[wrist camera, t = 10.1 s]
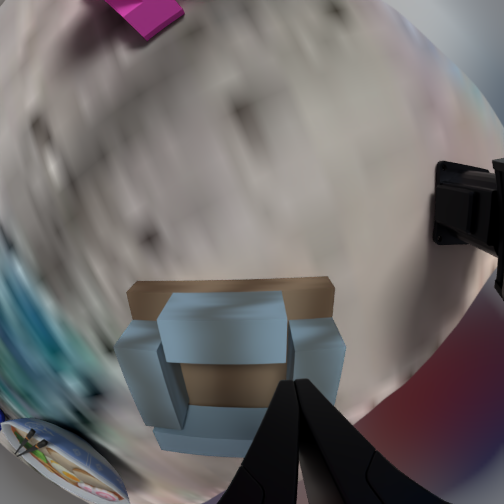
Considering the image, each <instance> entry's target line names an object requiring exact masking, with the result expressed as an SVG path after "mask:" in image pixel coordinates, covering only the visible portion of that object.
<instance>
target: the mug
mask: <svg viewBox="0 0 504 504" xmlns="http://www.w3.org/2000/svg"><path fill="white" fill-rule="evenodd" d="M2 422H5V416H4V414H3V412H2V411H1V409H0V423H2ZM1 429H2V428H1V424H0V431H1Z"/></svg>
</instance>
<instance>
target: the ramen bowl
mask: <svg viewBox="0 0 504 504" xmlns="http://www.w3.org/2000/svg"><path fill="white" fill-rule="evenodd" d="M0 424H1V428H2V432H3V433H4V435H5V436H6V438H7V439H8V441H9V442H10V444H11V445H12V446H13V447H14V448H15V449H16V450H17V451H16V452H15V454H16V453H17V452H18V453H19V455H18V456H22V457H23V458H24V459H25V460H26V461H27V462H29V463H30V464H31V465H32V466H33V467H35V468H36V469H37V470H38V471H39V472H41V473H42V474H43V475H45V476H46V477H47V478H49V479H50V480H52V481H53V482H55V483H56V484H58V485H60V486H61V487H63V488H64V489H66V490H68V491H70V492H72V493H74V494H76V495H78V496H80V497H82V498H84V499H86V500H88V501H91V502H93V503H96V504H130V502H129V498H128V494H127V491H126V488H125V486H124V483H123V481H122V479H121V477H120V475H119V474H118V472H117V471H116V470H115V469H114V468H113V466H112V465H111V464H110V463H109V462H108V461H107V460H106V459H105V458H104V457H103V456H102V455H101V454H99V453H98V452H97V451H96V450H95V449H94V448H93V447H92V446H91V445H90V444H89V443H88V442H86V441H85V440H84V439H82V438H81V437H79V436H78V435H77V434H75V433H73V432H70V431H68V430H65V429H63V428H61V427H59V426H57V425H55V424H52V423H49V422H46V421H43V420H40V419H36V418H22V419H14V420H8V421H5V422H2V423H0ZM18 456H17V457H18Z"/></svg>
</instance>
